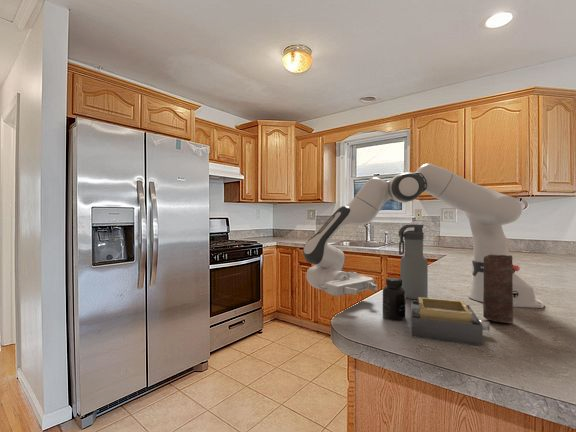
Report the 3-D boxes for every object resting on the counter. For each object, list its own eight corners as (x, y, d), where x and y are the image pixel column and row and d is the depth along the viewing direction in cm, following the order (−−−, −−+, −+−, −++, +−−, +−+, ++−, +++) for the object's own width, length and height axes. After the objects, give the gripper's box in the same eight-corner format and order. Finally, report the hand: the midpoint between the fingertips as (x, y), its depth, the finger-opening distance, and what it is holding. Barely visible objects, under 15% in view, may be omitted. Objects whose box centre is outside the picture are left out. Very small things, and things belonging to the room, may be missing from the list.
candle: (503, 327, 87) (503, 257, 87) (477, 319, 94) (477, 254, 94) (518, 323, 91) (518, 255, 91) (492, 316, 97) (492, 252, 97)
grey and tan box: (481, 325, 89) (482, 301, 89) (496, 347, 74) (497, 318, 74) (411, 317, 96) (411, 294, 96) (411, 336, 81) (411, 309, 81)
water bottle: (396, 297, 119) (396, 224, 119) (402, 292, 127) (402, 223, 127) (425, 301, 113) (425, 225, 113) (429, 295, 121) (429, 224, 121)
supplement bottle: (407, 322, 92) (407, 281, 92) (383, 320, 94) (383, 280, 93) (403, 314, 99) (403, 277, 99) (381, 313, 100) (381, 276, 100)
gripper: (317, 277, 110) (345, 285, 99) (356, 271, 122) (386, 277, 111) (317, 295, 111) (345, 304, 99) (357, 287, 122) (386, 294, 111)
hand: (367, 290), depth 105 cm, fingers open, 8 cm apart
